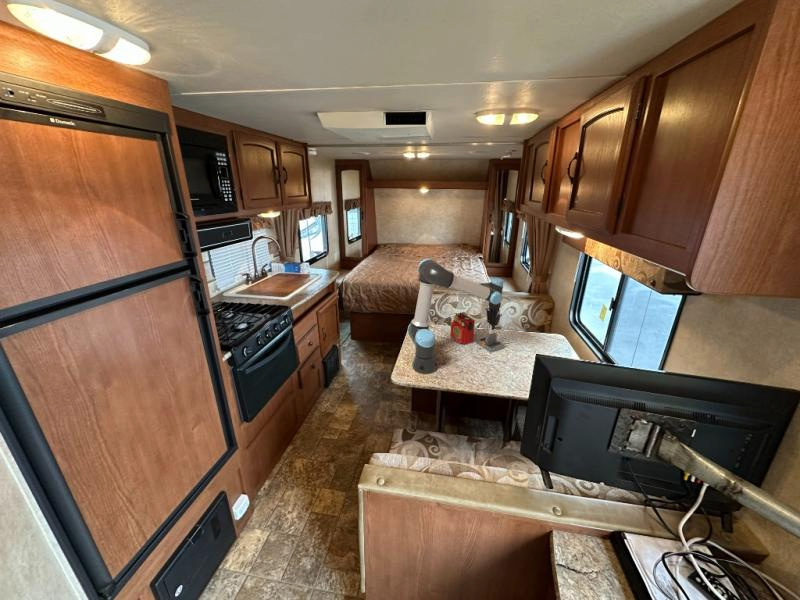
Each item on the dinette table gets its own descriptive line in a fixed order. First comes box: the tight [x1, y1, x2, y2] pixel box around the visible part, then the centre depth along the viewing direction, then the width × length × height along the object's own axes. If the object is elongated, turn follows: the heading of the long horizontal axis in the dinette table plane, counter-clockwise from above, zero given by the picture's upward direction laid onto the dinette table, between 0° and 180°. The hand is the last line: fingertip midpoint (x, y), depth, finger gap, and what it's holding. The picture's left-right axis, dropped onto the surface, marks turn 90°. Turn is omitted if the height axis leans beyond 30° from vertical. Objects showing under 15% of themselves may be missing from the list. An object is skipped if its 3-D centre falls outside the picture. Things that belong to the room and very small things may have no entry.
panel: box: [485, 332, 498, 344], centre depth 213 cm, size 8×2×8 cm, turn 119°
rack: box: [475, 335, 505, 354], centre depth 214 cm, size 12×15×4 cm
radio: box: [450, 311, 476, 345], centre depth 218 cm, size 16×10×20 cm, turn 28°
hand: (491, 333), depth 211 cm, fingers closed
